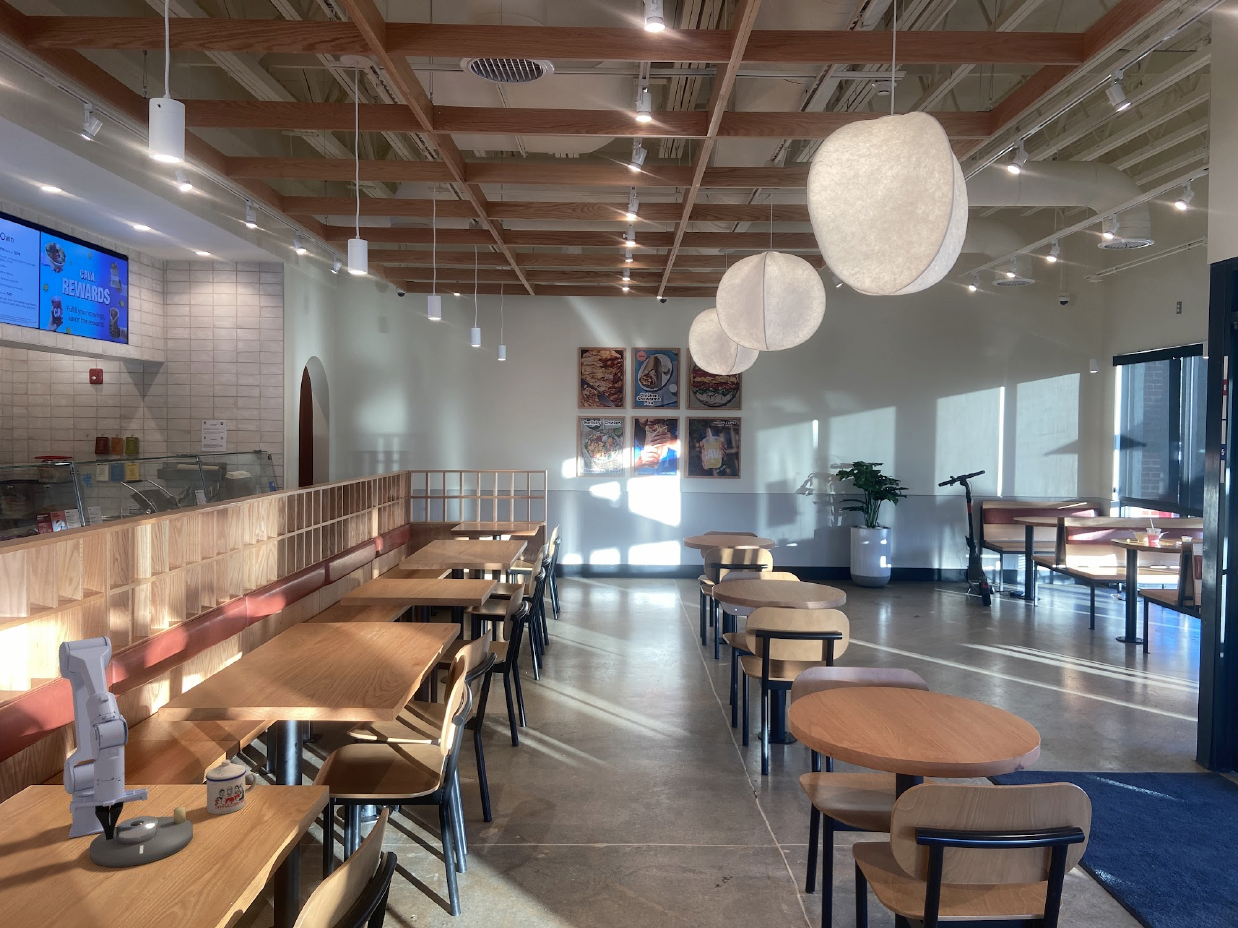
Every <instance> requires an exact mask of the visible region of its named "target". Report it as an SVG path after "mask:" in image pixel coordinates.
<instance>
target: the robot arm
mask: <svg viewBox="0 0 1238 928" xmlns="http://www.w3.org/2000/svg"><path fill="white" fill-rule="evenodd" d="M112 652H113V650H112V643H111V639H110V638H109V637H108V636H107V635H104V636H100V637H94V638H86V639H85V638H84V639H79V640H70V641H62V642H61V644H60V645H59V646H58V663H59V673H60V675H61V676H60V677H61V678H62V679H66V680H69V682H70V686H71V693H72V702H73V703H72V704H73V717H74V727H75V729H74V730H75V739H76V742H75V743H76V750H75V751H74V752H73V753H72V754H70V755H69V756H68V758H66V759H65V761H64V763H63V775H62V776H63V778H62V779H63V787H64V791H65V793H66V794H68V795H71V800H70V803H69V814H72V815H71V817H72V820H71V821H72V823H71V826H70V830H69V834H68V838H69V839H71V838H77V837H83V836H89V835H94V834H98V833H100V834H101V833H104V832H105V836H106V840H110V839H113V836H114V829H115V827H117V823H118V820H119V818H120V815H121V813H122V812H123V809H124V804H125V803H129V802H130V803H131V802H136V801H147V800H148V798H149V797H148V795H149V794H148V788H141V789H127V790H126V789H125V745H127V744H128V741H129V740H128V739H129V728H128V724H127V720H126V719H125V718H124V716H123V714H120V711H119V707H118V703H117V700H116V696H115V695H116V694H114V693H112V692H109V691H108V685H107V677H106V669H107V667H108V666H109V663H110V660H111V659H112ZM90 760H93V761H90ZM86 761H88V762H86ZM81 762H84V763H81Z"/></svg>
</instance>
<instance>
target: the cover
mask: <svg viewBox="0 0 1238 928" xmlns="http://www.w3.org/2000/svg"><path fill="white" fill-rule="evenodd" d="M115 827H116V842H117V843H118V844H120V845H136V844H140V843H144V842H147V841H149V840H151V839H153V838H155V837H156V836H157V834H158V819H157V818H156V816H154V815H142V816H141V815H139V816H136V817H135V816H134V817H132V818H128V819H126V820H122V821H121V822H120V823H118V824H116V826H115Z"/></svg>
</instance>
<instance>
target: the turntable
mask: <svg viewBox="0 0 1238 928" xmlns="http://www.w3.org/2000/svg"><path fill="white" fill-rule="evenodd" d="M155 817H156V816H155ZM156 818H157V819H158V834H157V836H156V837H155V838H153V839H151V840H149V841H147V842H144V843H140V844H136V845H120V844H118V843H117V842H116V827H117V826H115V829H114V836H113V839H110V840H106V836H105V832H101V833H100V834H99V835H98V836H96V837H95V838H94V839H93V840H92V841H91V842H90V844H89V859H90V861H91V862H92V863H93V864H95V865H97V866H100V867H106V868H107V867H108V868H109V867H110V868H111V867H112V868H117V867H118V868H120V867H121V868H122V867H132V866H138V865H144V864H149V863H151V862H155V861H158V860H161V859H163V858H164V859H165V858H167V857H169V856H172V855H174V854H175V853H177V852H179V851H180V850H182V849H184V848H185V847H187V846H188V845H189V844H190V843H191V841H192V839H193V837H194V825H193V823H192V822H191V821H190V820H188V819H186V806H177V807H175V808H174V809H173V816H157V817H156Z"/></svg>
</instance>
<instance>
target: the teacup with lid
mask: <svg viewBox="0 0 1238 928" xmlns="http://www.w3.org/2000/svg"><path fill="white" fill-rule="evenodd" d="M249 776H252V778H253V780H252V783H251V784H250V786H249V787H248V788H246V777H249ZM205 780H206V811H207V812H208V813H209V814H211V815H227V814H232V813H235V812H237V811H240V810H241V809H242V808H243V809H244V807H245V805H246V794H247V793H250V792H252V791H253V790H254V789H255V787H256V786H257V782H258V776H257V774H256V773H254V772H252V771H247V769H246V767H245V766H244V765H242V764H235V763H232V762H231V760H230V759H224V760H222V761H221V764H219V765H217V766H216V767H213V768H211V769H210V770H208V771H207V772H206V775H205Z"/></svg>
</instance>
